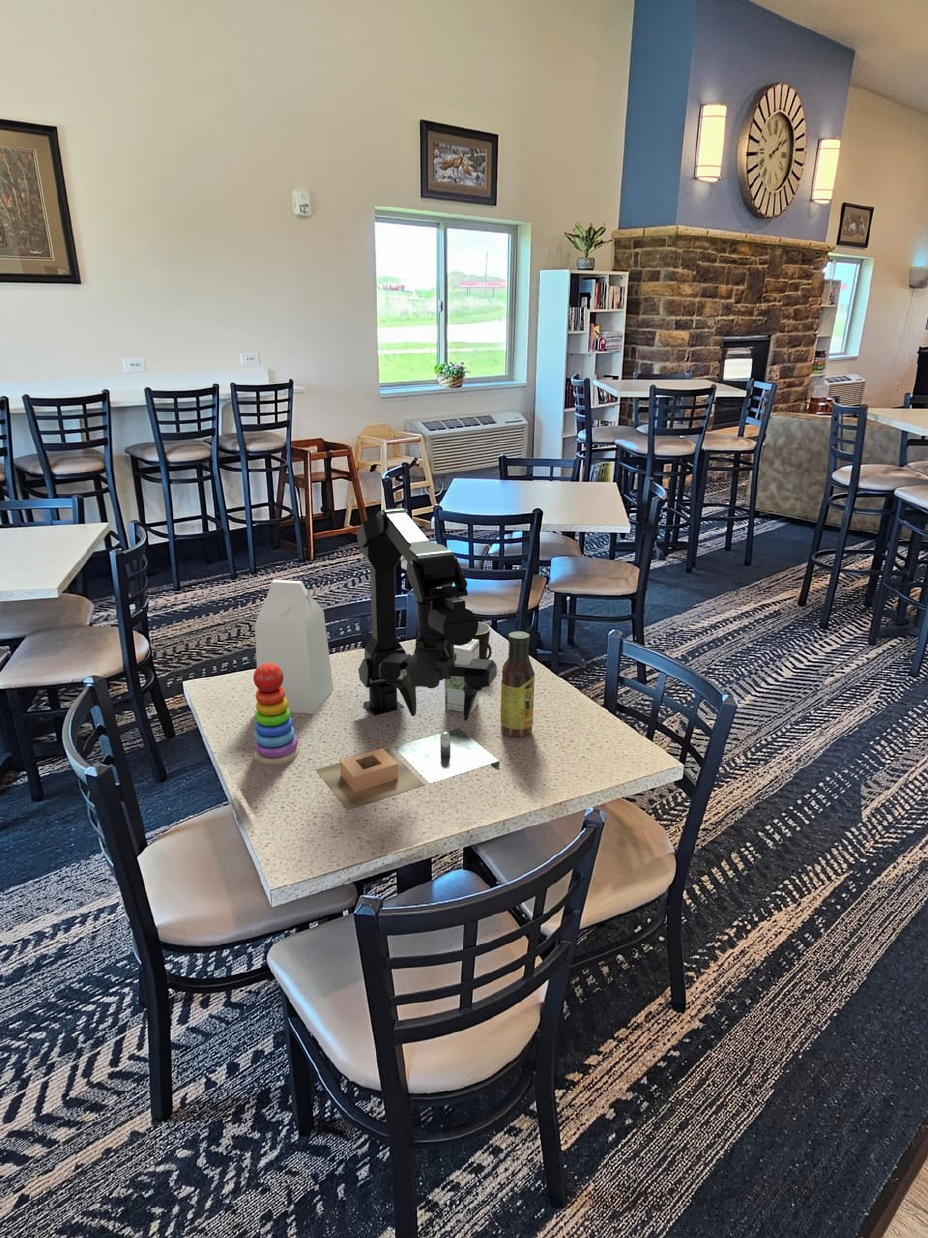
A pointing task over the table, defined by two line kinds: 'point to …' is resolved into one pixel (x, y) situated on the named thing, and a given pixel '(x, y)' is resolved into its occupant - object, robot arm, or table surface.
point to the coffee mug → (483, 640)
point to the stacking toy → (273, 718)
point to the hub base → (446, 764)
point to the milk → (295, 644)
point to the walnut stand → (369, 795)
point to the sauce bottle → (517, 687)
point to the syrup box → (460, 678)
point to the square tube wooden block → (368, 770)
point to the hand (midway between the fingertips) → (439, 717)
